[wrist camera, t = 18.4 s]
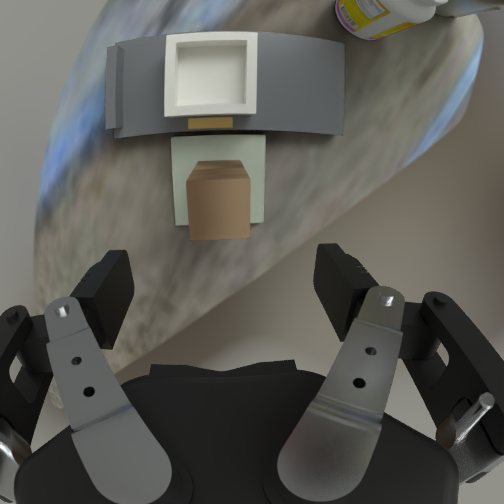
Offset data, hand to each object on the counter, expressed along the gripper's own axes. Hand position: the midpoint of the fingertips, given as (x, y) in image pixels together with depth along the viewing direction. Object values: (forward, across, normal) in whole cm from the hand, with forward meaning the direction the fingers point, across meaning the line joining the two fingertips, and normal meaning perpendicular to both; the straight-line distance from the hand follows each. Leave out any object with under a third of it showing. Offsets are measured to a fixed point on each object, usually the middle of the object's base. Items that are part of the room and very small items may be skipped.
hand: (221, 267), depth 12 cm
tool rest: (+18, 0, 0) cm, 18 cm away
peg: (+17, 0, 0) cm, 17 cm away
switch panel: (+18, -1, -10) cm, 21 cm away
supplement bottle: (+18, -15, -20) cm, 31 cm away
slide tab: (+16, +1, -10) cm, 19 cm away
